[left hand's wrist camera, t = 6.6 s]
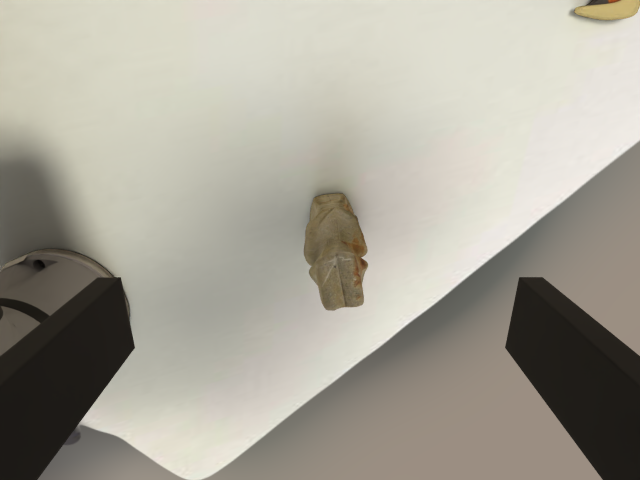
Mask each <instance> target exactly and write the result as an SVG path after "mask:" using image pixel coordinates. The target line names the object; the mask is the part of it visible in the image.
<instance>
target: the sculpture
mask: <svg viewBox="0 0 640 480" xmlns="http://www.w3.org/2000/svg"><path fill="white" fill-rule="evenodd" d="M367 251H368V250H367V246H366V243H365V240H364V236H363V233H362V231H361V228H360V226H359V223H358V219H357V217H356V216H355V215H354V213H353V210H352V208H351V206H350V203H349V201H348V200H347V198H346V196H345V195H344V194H341V193H337V194H327V195H321V196H317V197H315V198H314V199H313V202H312V206H311V211H310V222H309V223H308V225H307V227H306V235H305V245H304V256H305V259H306V261H307V262H308V264H309V265H311V266H312V267H311V268H310V270H309V274H310V276H311V278H312V279H313V280H314V281H315V283H316V284H317V285H318V288H319V293H320V297H321V301H322V304H323V306H324V308H325V309H326V310H337V309H339V308H342V307H358V306H361V305H362V304H363V302H364V296H363V289H362V282H363V277H364V273H365V271H366V269H367V267H368V263H367V262H366V261H365V260H363V259H362V258H361V257H363V256H364V255H365V254H366V253H367Z"/></svg>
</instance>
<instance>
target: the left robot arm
mask: <svg viewBox="0 0 640 480" xmlns="http://www.w3.org/2000/svg"><path fill="white" fill-rule="evenodd" d="M2 269H3V270H2ZM2 269H1V270H2V271H1V272H0V480H37V479H38V478H39V477H40V475H41V474H42V473H43V471H44V470H45V468H46V467H47V466H48V464H49V463H50V462H51V460H52V459H53V458H54V456H55V455H56V454H57V452H58V451H59V449H60V448H61V447H62V445H63V444H64V443H65V441H66V440H67V439H68V437H69V436H70V435H71V433H72V432H73V431H74V429H75V428H76V427H77V425H78V424H79V422H80V421H81V420H82V418H83V417H84V416H85V414H86V413H87V412H88V410H89V409H90V408H91V406H92V405H93V404H94V402H95V401H96V399H97V398H98V397H99V395H100V394H101V393H102V391H103V390H104V389H105V387H106V386H107V385H108V383H109V382H110V381H111V379H112V378H113V376H114V375H115V374H116V372H117V371H118V370H119V368H120V367H121V366H122V364H123V363H124V362H125V360H126V359H127V358H128V356H129V355H130V353H131V352H132V351H133V349H134V348H135V346H134V341H133V336H132V331H131V326H130V321H129V308H128V303H127V299H126V297H125V294H124V291H123V286H122V281H121V277H113V276H112V275H111V274H110V273H109V272H108V271H107V270H106V269H104V268H103V267H102V266H101V265H99V264H98V263H96V262H95V261H93V260H91V259H89V258H87V257H85V256H83V255H81V254H78V253H75V252H72V251H67V250H61V249H43V250H37V251H33V252H31V253H28V254H26V255H24V256H22V257H19V258H17V259H15V260H12V261H10V262H8V263H6V264H5V265H4V266H3V268H2ZM505 348H506V349H507V351H508V352H509V353H510V355H511V356H512V357H513V359H514V360H515V362H516V363H517V364H518V366H519V367H520V368H521V370H522V371H523V372H524V374H525V375H526V376H527V378H528V379H529V381H530V382H531V383H532V385H533V386H534V387H535V389H536V390H537V391H538V393H539V394H540V395H541V397H542V398H543V399H544V401H545V402H546V404H547V405H548V406H549V408H550V409H551V410H552V412H553V413H554V414H555V416H556V417H557V418H558V420H559V421H560V422H561V424H562V425H563V427H564V428H565V429H566V431H567V432H568V433H569V435H570V436H571V437H572V439H573V440H574V441H575V443H576V444H577V445H578V447H579V448H580V449H581V451H582V452H583V454H584V455H585V456H586V458H587V459H588V460H589V462H590V463H591V464H592V466H593V467H594V468H595V470H596V471H597V473H598V474H599V475H600V476H601V478H602V479H603V480H640V356H639V355H638V354H636V353H635V352H634V351H633V350H631V349H630V348H629V347H628V346H627V345H625V344H624V343H623V342H622V341H620V340H619V339H618V338H617V337H615V336H614V335H613V334H612V333H611V332H609V331H608V330H607V329H606V328H604V327H603V326H602V325H601V324H599V323H598V322H597V321H596V320H594V319H593V318H592V317H591V316H590V315H588V314H587V313H586V312H585V311H583V310H582V309H581V308H580V307H578V306H577V305H576V304H575V303H573V302H572V301H571V300H570V299H569V298H567V297H566V296H565V295H563V294H562V293H561V292H560V291H559V290H557V289H556V288H555V287H554V286H552V285H551V284H550V283H549V282H548V281H546V280H545V279H544V278H542V277H520V278H519V281H518V286H517V291H516V296H515V302H514V306H513V311H512V316H511V322H510V326H509V331H508V337H507V341H506V346H505Z"/></svg>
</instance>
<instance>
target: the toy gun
mask: <svg viewBox="0 0 640 480" xmlns="http://www.w3.org/2000/svg"><path fill="white" fill-rule="evenodd" d="M639 6H640V0H592V2H591V3H589V4H588V5H586V6H580V7H577V8H575V12H574V13H576V14H578V15H581V16H584V17H589V18H594V19H599V20H616V19H624V18H629V17H632V16H634V15H635V14H636V13H637V11H638V9H639Z"/></svg>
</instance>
